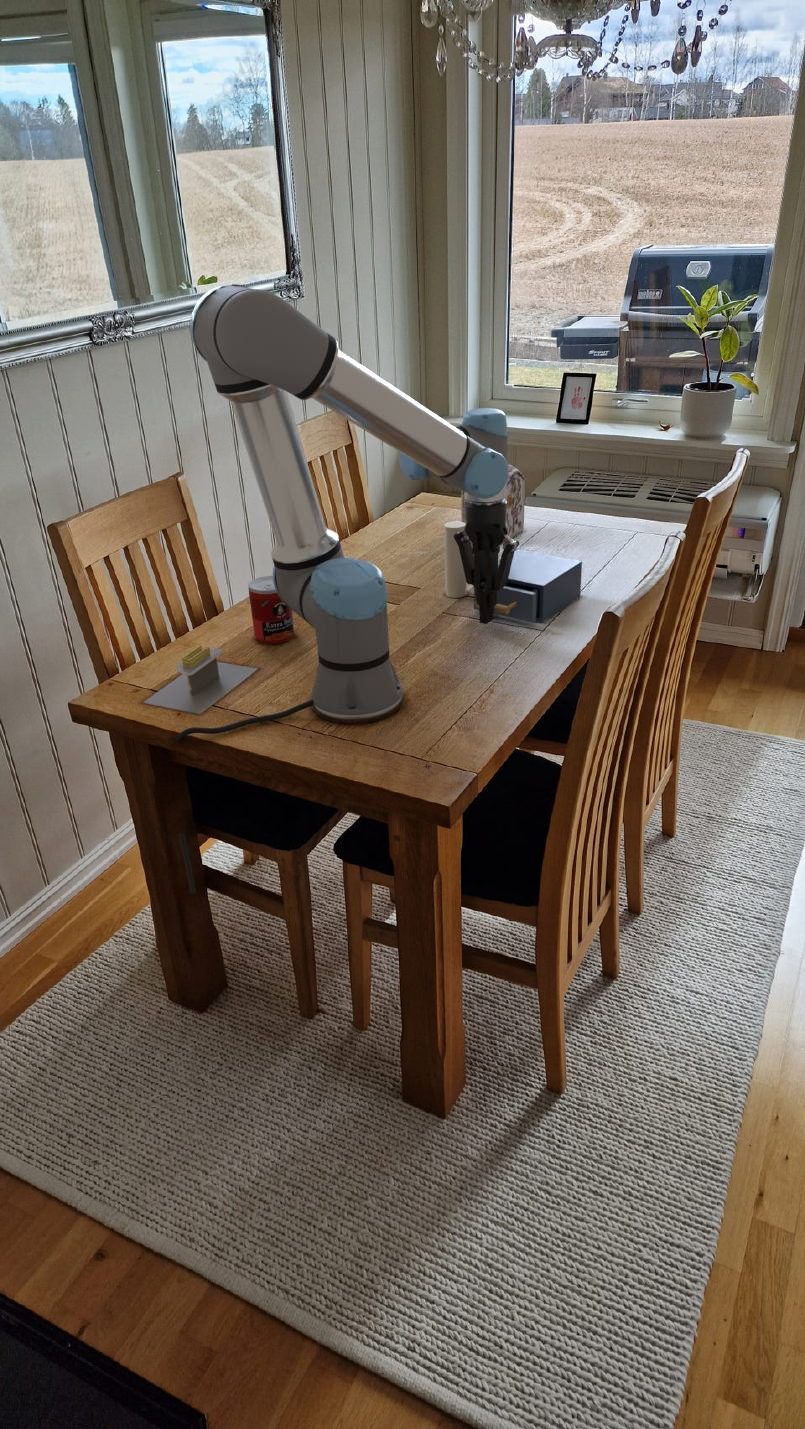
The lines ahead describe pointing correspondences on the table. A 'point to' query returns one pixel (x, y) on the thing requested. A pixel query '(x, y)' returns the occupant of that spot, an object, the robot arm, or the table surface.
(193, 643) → the table surface
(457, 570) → the candle
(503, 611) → the drawer
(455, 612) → the table surface
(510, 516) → the decorative jar
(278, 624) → the canned food
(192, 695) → the platform
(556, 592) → the cabinet
